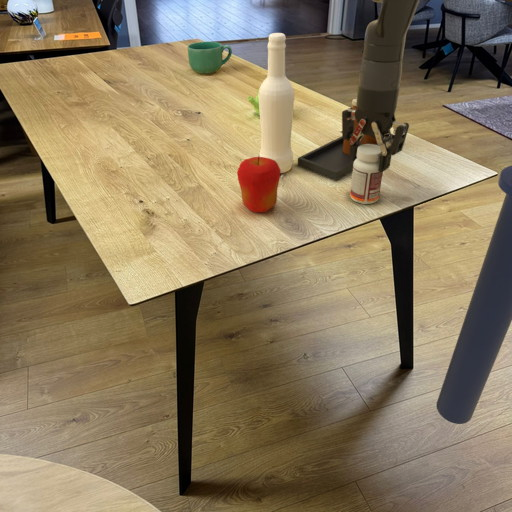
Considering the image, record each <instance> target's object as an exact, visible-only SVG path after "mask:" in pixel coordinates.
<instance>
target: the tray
mask: <svg viewBox="0 0 512 512" xmlns="http://www.w3.org/2000/svg"><path fill="white" fill-rule="evenodd" d="M391 135H392V140H391V141H392V143H393V139H394V136H395V134H394V133H391ZM383 138H384V135H383ZM343 142H344V139H343V137H342V135H341V136H339V137H338V138H335V139H333V140H331V141H330V142H327V143H325V144H323V145H321V146H319V147H316V148H314V149H313V150H311V151H309V152H307V153H305V154H302V155H301V156H299V157H297V167H299V168H303V169H305V170H308V171H310V172H311V173H315V174H317V175H321V176H322V177H326V178H328V179H330V180H333V181H338V180H340V179H342V178H343V177H345V176H347V175H348V174H350V173H353V164H354V162H351V158H350V157H349V155H348V154H345V153H344V152H343ZM378 146H379V145H378Z"/></svg>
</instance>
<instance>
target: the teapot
mask: <svg viewBox="0 0 512 512" xmlns="http://www.w3.org/2000/svg"><path fill="white" fill-rule="evenodd" d="M259 89H260V87H258V89H257V94H256V96H255V98H254V97H253V96H252V95H250V96H249V97H247V101H248V102H249V103H250V104H251V105H252V107H253V110H254V111H255V112H256V113H257V115H258V116H260V112H259V97H258V95H259Z"/></svg>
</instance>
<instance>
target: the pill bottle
mask: <svg viewBox="0 0 512 512" xmlns="http://www.w3.org/2000/svg"><path fill="white" fill-rule="evenodd" d="M381 154H382V153H381V149H380V146H378V145H375V144H363V145H360V146H359V147H358V149H357V158H356V159H355V161H354V164H353V171H352V172H351V173H352V174H351V183H350V192H349V196H350V198H351V200H352V201H354V202H355V203H358V204H362V205H371V204H374V203H376V202H377V201H379V199H380V195H381V194H380V193H381V187H382V181H383V175H384V174H383V173H384V171H383V172H380V171H378V169H379V162H380V155H381Z"/></svg>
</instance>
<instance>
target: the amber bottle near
mask: <svg viewBox="0 0 512 512" xmlns="http://www.w3.org/2000/svg"><path fill="white" fill-rule="evenodd" d="M356 102H357V98H353V99H352V102H351V104H352V108H353V109H354V110H356V109H357V106H356ZM357 126H358V123H357V121H356V118H355V119H354V131H355V129H356V128H357ZM365 136H366V135H364V136H363V137H362V139H361V141H360V142H359V143H361V145H363V144H365ZM343 152H344V153H345V154H348V155H349V154H350V143H349V141H348V140H347V139H346V140H344V142H343Z"/></svg>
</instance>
